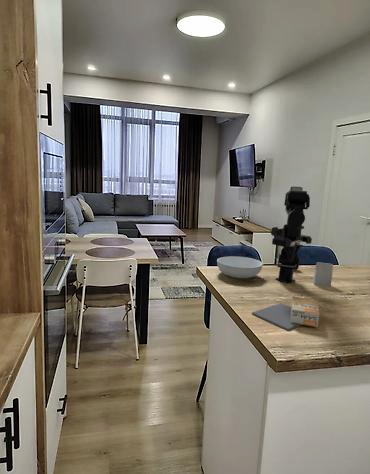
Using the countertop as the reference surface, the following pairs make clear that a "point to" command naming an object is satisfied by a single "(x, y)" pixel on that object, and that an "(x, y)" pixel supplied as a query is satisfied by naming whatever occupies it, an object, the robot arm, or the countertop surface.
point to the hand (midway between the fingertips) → (289, 261)
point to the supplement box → (304, 311)
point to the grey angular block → (323, 274)
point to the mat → (277, 316)
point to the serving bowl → (239, 266)
